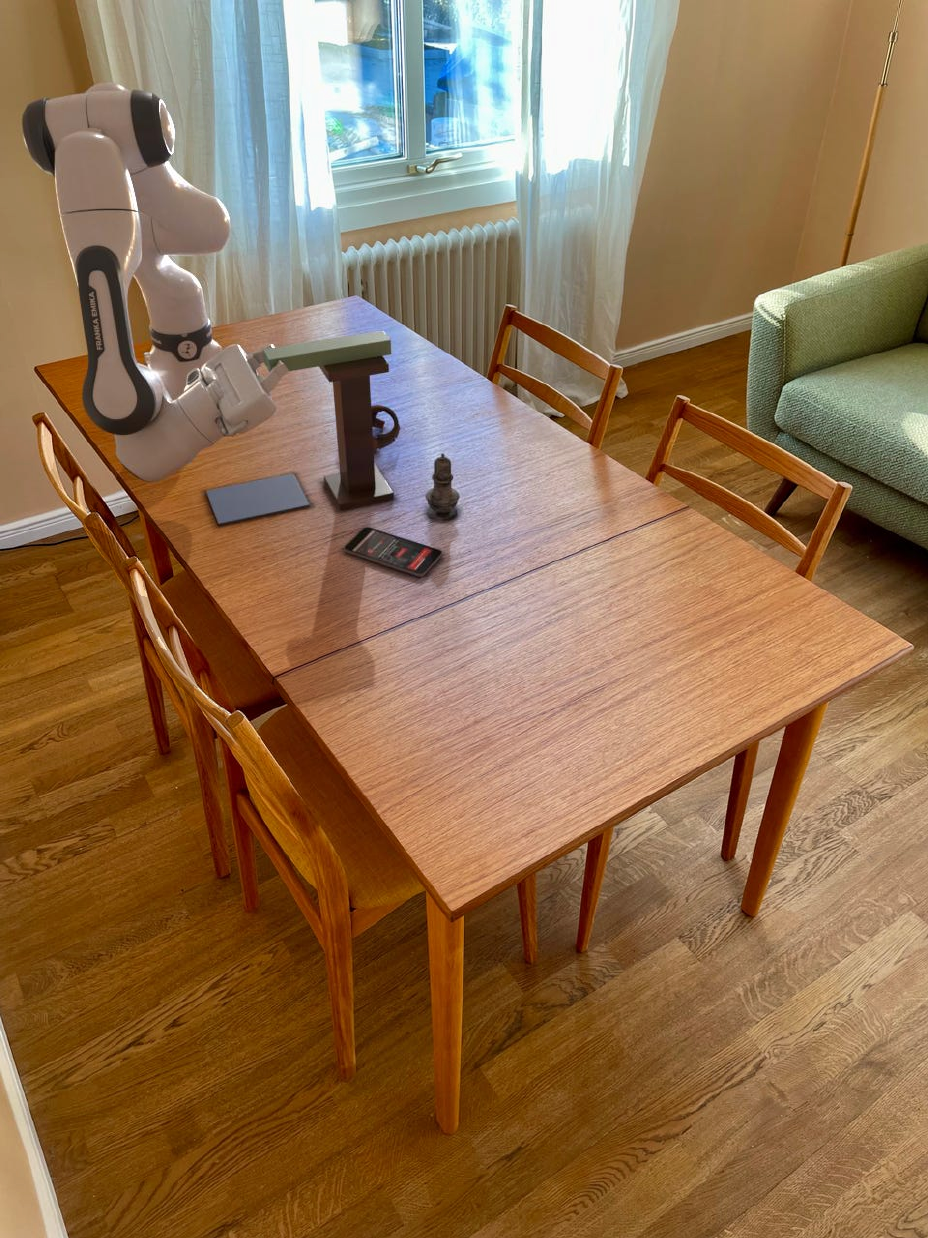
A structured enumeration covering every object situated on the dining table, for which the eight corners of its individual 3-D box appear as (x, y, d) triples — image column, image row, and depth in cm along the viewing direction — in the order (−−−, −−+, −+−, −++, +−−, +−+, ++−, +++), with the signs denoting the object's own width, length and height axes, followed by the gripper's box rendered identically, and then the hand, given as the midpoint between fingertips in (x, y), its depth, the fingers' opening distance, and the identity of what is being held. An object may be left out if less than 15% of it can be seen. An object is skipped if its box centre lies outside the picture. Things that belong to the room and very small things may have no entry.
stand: (323, 482, 172) (311, 347, 155) (376, 471, 175) (369, 338, 158) (340, 511, 165) (328, 373, 148) (394, 499, 168) (388, 363, 151)
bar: (264, 363, 150) (262, 348, 149) (383, 344, 156) (382, 329, 155) (270, 374, 147) (268, 359, 146) (391, 354, 154) (390, 339, 152)
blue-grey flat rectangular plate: (205, 492, 169) (205, 490, 169) (293, 474, 174) (293, 472, 173) (218, 525, 161) (218, 523, 161) (309, 506, 166) (309, 504, 166)
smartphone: (422, 575, 150) (342, 548, 155) (422, 578, 151) (342, 552, 156) (443, 550, 155) (365, 525, 160) (443, 554, 156) (365, 529, 161)
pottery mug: (397, 428, 188) (405, 405, 181) (391, 468, 184) (399, 446, 177) (337, 414, 186) (343, 390, 178) (330, 455, 182) (336, 432, 175)
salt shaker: (447, 526, 162) (448, 466, 154) (419, 515, 164) (418, 455, 157) (465, 510, 166) (467, 450, 158) (437, 499, 168) (437, 440, 160)
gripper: (211, 426, 140) (285, 370, 139) (186, 368, 154) (253, 316, 153) (237, 454, 144) (309, 400, 144) (210, 395, 159) (276, 345, 158)
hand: (280, 356), depth 148 cm, fingers open, 5 cm apart
